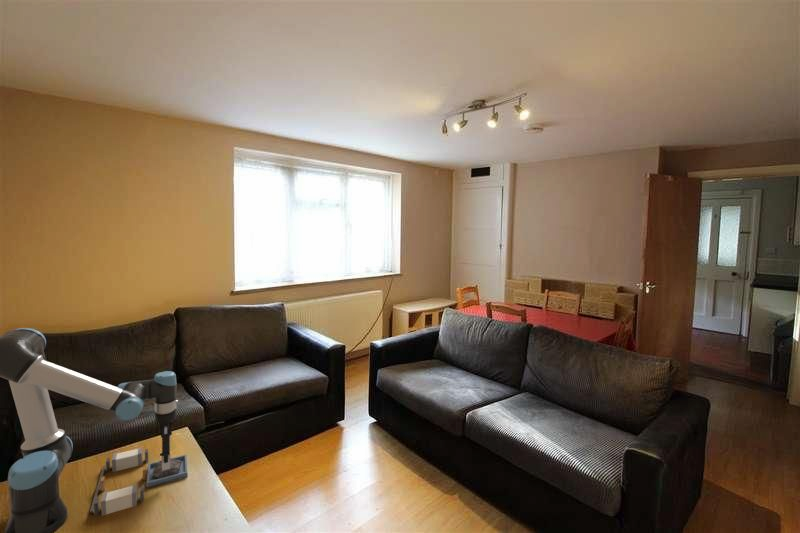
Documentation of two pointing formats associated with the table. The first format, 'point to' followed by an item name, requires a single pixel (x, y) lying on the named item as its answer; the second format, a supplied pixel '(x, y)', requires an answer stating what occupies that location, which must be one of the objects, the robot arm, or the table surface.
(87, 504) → the table surface
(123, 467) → the fuse
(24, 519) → the robot arm
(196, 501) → the table surface
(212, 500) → the table surface
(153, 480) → the tray
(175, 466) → the rock
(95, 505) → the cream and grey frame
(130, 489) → the fuse
